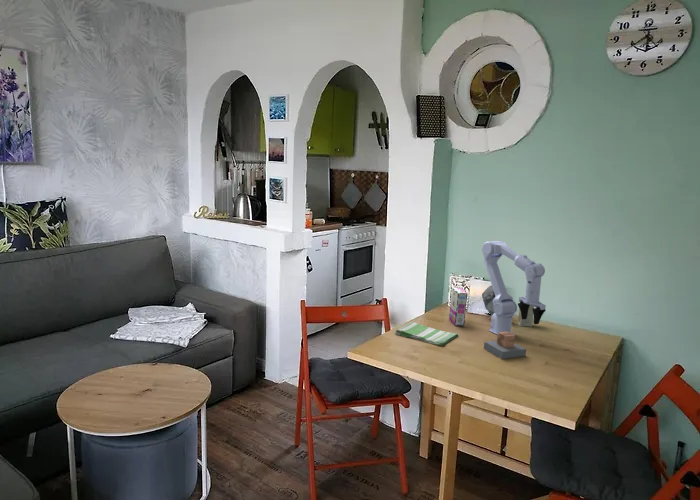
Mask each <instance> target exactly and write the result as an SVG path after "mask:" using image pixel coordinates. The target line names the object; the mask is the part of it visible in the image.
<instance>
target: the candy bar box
mask: <svg viewBox="0 0 700 500" xmlns="http://www.w3.org/2000/svg"><path fill="white" fill-rule="evenodd" d="M450 294H451V296H450V302H449V303H450V304H449V305H450V306H449V315H448V320H449V321H450V322H451V323H452V324H453V325H454V326H456V327H457V326H458V327H459V326H460V327H464V326H465V324H466V323H465V322H466V313H467V311H466V310H467V303H468V293H467V292H466V291H465V290H464V289H462V288H461V287H451V293H450Z"/></svg>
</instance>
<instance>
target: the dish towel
mask: <svg viewBox="0 0 700 500" xmlns="http://www.w3.org/2000/svg"><path fill="white" fill-rule="evenodd" d="M395 335H398V336H402V337H405V338H409V339H413V340H417V341H421V342H424V343H427V344H428V343H429V344H430V345H431V344H432V345H435V346H441V347H443V346H445V345H446V344H447V343H449V342H450V341H452V340H454V339H457V338H458V337H459V334H458V333H456V332H449V331H444V330H440V329H437V328H433V327H430V326H426V325H424V324H423V325H422V324H420V323H417V322H414V321H411V322H410V323H407V324H406V325H404V326H402V327H400V328H398V329H396V330H395Z"/></svg>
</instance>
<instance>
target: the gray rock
mask: <svg viewBox="0 0 700 500" xmlns="http://www.w3.org/2000/svg"><path fill="white" fill-rule="evenodd" d="M495 297H496V296H495V293H494V290H493V287H492V284H491V285H489V286H488V287H487V288H486V289H485V290H484V291H483V292H482V294H481V298H482V302H483V304H484V308H485V310H487V312H489V313H490V314H491V315H490V317H489V320H490V321H491V317H492V315H493V314H494V313H495V312H494V309H493V307H494V305H493V300H494V299H495Z"/></svg>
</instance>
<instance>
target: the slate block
mask: <svg viewBox="0 0 700 500" xmlns="http://www.w3.org/2000/svg"><path fill="white" fill-rule="evenodd" d="M483 349H484V350H486V351H488V352H489V353H491V354H492V355H494V356H495V357H498V358H500V359H501V360H502V359H503V360H504V359H510V358H511V359H512V358H519V357H526V354H527V353H526V352H527V348H525V347H523V346H521V345H519V344H517V343H514V347H508V348H504V347H502V346H500V345H498V344H497V339H496V340H488V341H487V340H486V341H484V343H483Z"/></svg>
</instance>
